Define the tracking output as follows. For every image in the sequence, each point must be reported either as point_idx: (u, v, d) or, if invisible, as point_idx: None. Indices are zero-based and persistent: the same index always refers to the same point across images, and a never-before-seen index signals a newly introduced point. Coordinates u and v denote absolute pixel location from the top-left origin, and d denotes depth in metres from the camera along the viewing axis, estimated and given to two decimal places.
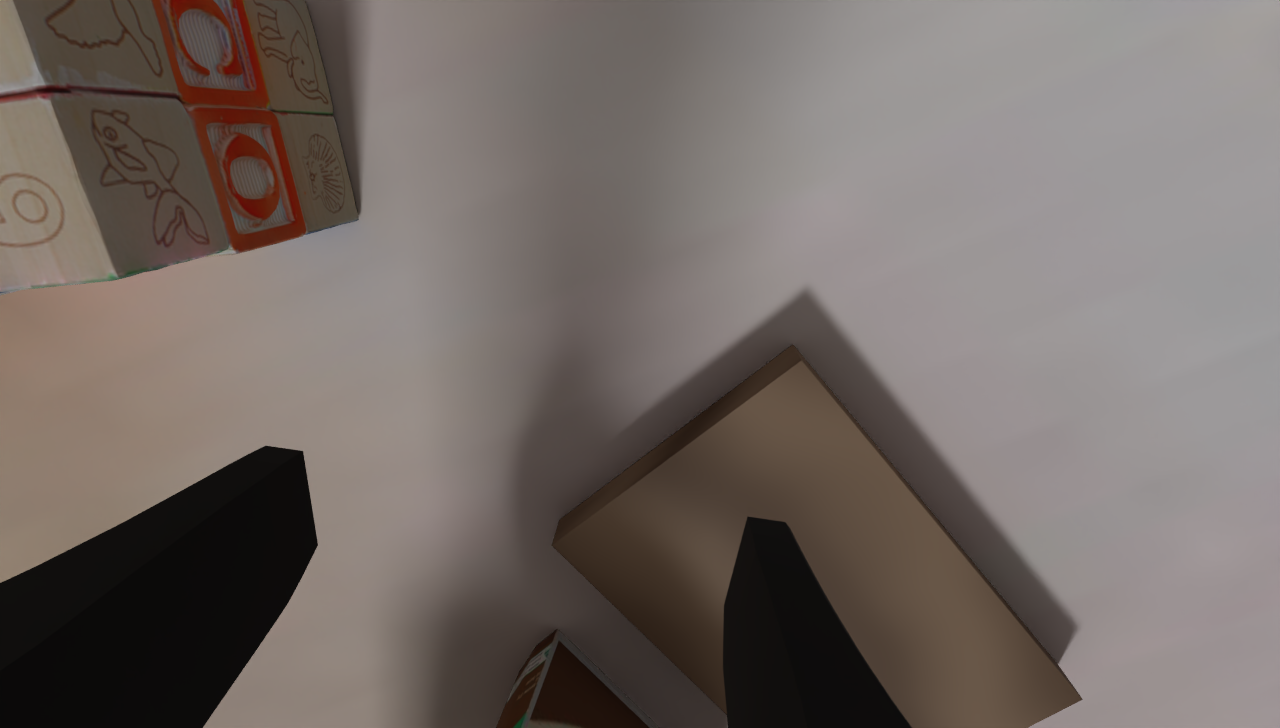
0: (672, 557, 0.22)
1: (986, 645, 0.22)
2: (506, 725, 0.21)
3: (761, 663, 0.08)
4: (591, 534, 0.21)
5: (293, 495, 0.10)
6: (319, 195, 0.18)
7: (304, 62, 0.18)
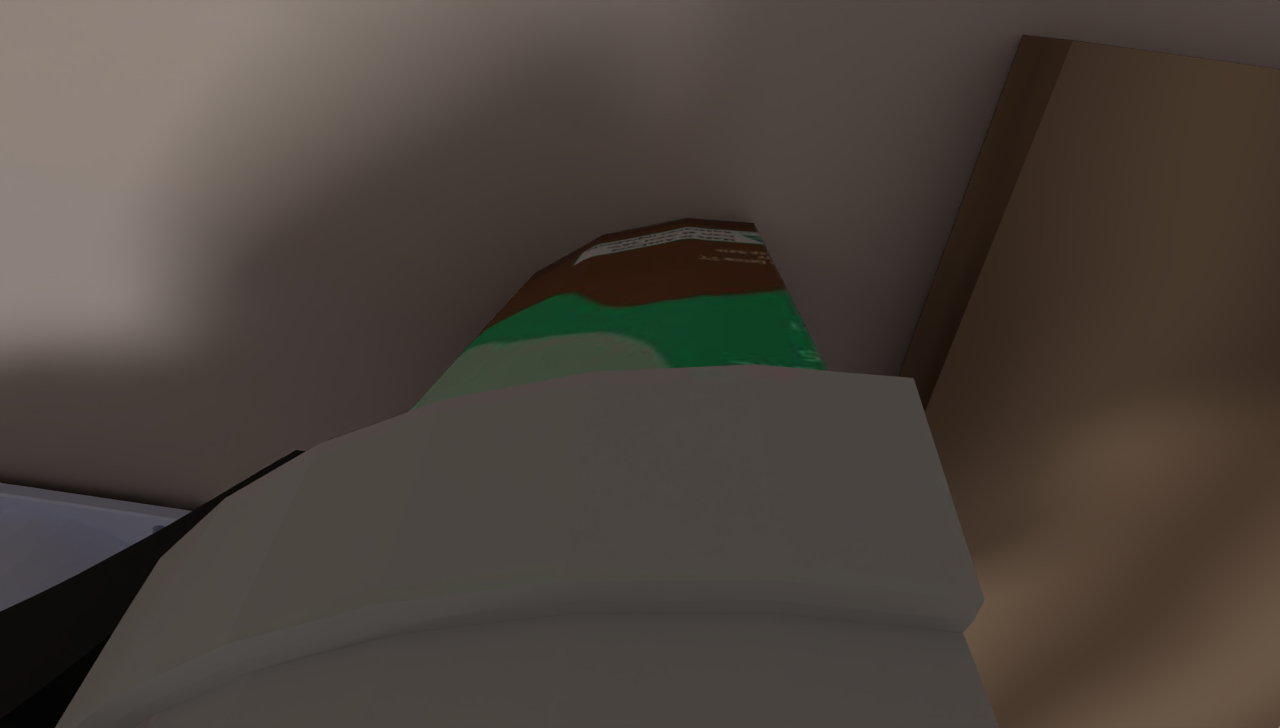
0: (1174, 274, 0.10)
1: (1226, 709, 0.14)
2: (700, 280, 0.08)
3: None
4: (1153, 96, 0.09)
5: None
6: None
7: None
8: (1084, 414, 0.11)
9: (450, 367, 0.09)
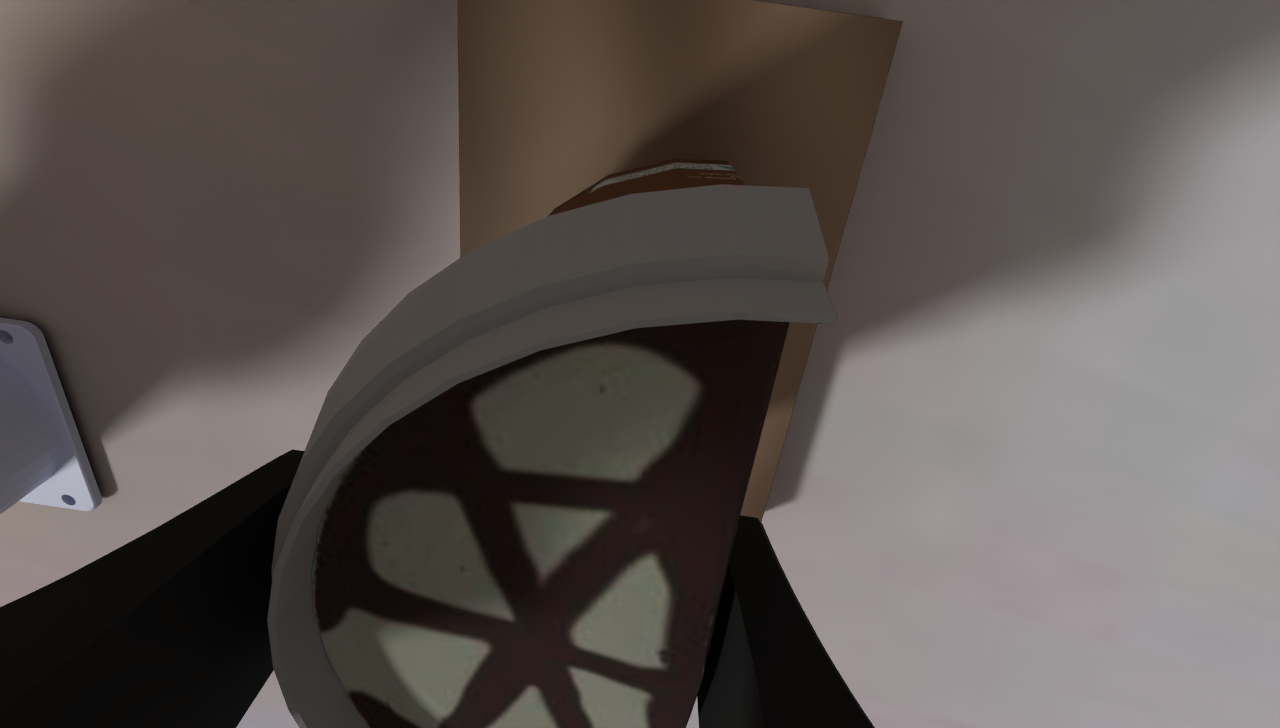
0: (571, 109, 0.16)
1: None
2: (688, 186, 0.11)
3: (727, 658, 0.08)
4: None
5: None
6: None
7: None
8: None
9: None
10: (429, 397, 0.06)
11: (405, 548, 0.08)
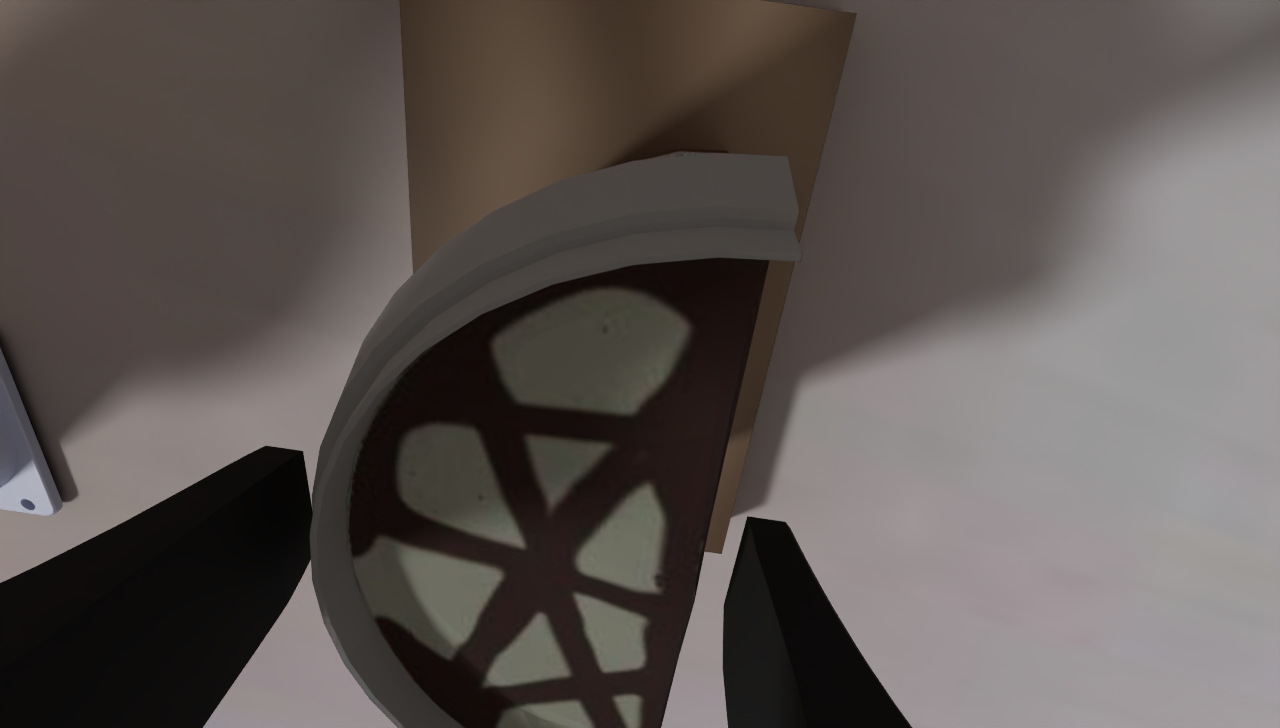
0: (519, 105, 0.16)
1: None
2: None
3: (761, 663, 0.08)
4: None
5: (293, 495, 0.10)
6: None
7: None
8: None
9: None
10: (458, 326, 0.07)
11: (430, 478, 0.09)
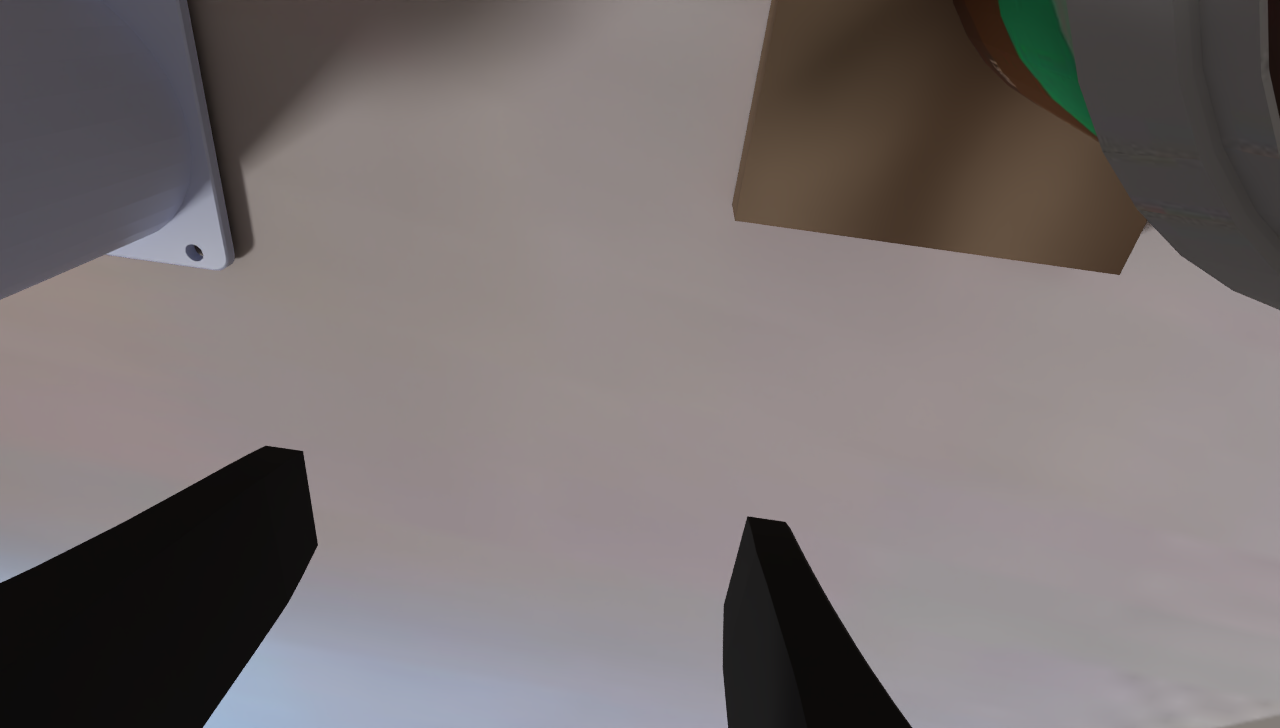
0: None
1: None
2: None
3: (761, 663, 0.08)
4: None
5: (293, 495, 0.10)
6: None
7: None
8: None
9: None
10: None
11: None
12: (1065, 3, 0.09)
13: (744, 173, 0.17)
